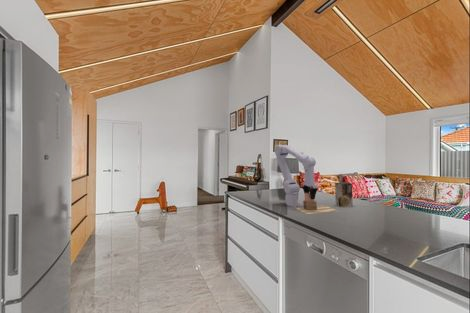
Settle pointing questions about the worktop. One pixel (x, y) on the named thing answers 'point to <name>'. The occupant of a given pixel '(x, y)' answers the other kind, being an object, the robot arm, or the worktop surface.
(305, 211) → the board
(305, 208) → the slab low
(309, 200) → the block
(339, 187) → the coffee box
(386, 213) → the worktop surface
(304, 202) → the slab high
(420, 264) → the worktop surface
